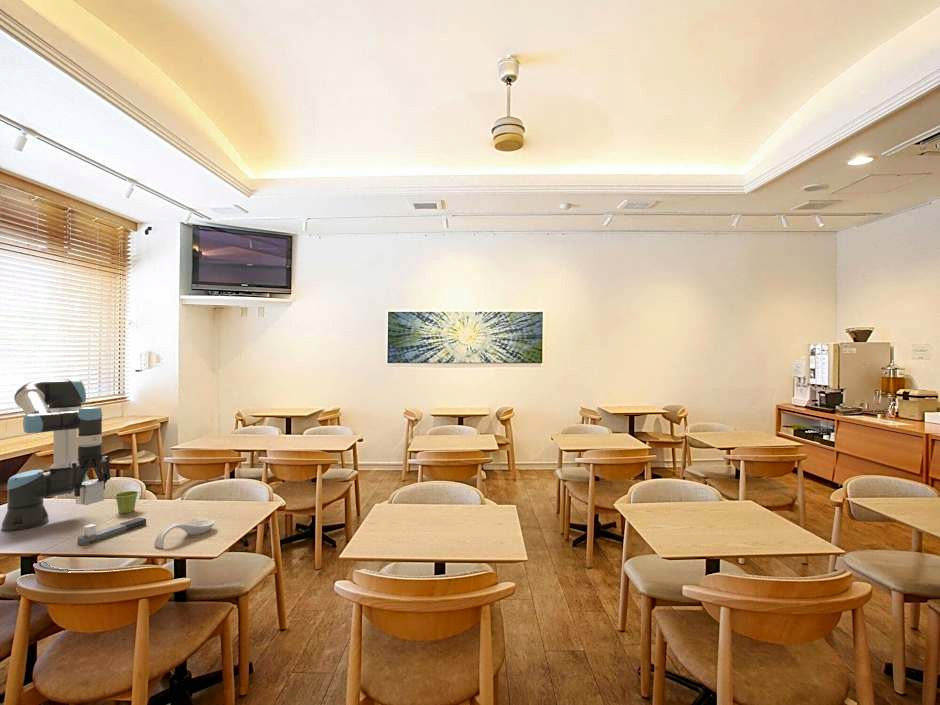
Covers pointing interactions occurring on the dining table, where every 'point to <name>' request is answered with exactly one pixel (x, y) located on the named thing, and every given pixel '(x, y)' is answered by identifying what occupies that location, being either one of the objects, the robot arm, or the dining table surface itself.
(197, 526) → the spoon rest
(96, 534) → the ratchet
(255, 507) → the dining table surface
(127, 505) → the plant pot
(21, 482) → the robot arm
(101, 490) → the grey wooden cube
